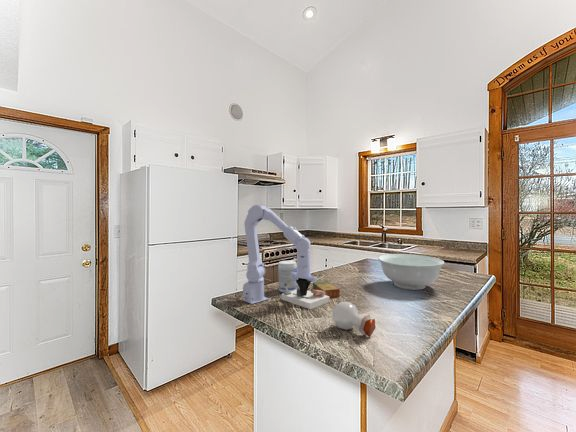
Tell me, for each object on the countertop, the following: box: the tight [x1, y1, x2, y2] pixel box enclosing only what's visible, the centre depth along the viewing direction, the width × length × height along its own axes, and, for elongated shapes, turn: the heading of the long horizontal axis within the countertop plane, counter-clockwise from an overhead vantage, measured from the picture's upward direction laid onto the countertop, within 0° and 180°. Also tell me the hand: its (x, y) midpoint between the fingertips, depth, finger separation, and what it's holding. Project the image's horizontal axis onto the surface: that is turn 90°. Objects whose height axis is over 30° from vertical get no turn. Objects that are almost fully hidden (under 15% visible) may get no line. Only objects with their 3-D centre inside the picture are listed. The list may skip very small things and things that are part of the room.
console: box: [281, 290, 331, 310], centre depth 131 cm, size 13×18×4 cm
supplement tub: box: [277, 260, 298, 293], centre depth 147 cm, size 10×10×15 cm
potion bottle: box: [331, 301, 376, 338], centre depth 99 cm, size 9×10×15 cm
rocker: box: [310, 289, 326, 295], centre depth 130 cm, size 6×4×2 cm, turn 133°
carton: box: [312, 280, 341, 299], centre depth 142 cm, size 8×16×4 cm, turn 14°
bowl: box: [377, 253, 445, 291], centre depth 153 cm, size 32×32×15 cm
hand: (303, 295), depth 128 cm, fingers closed
